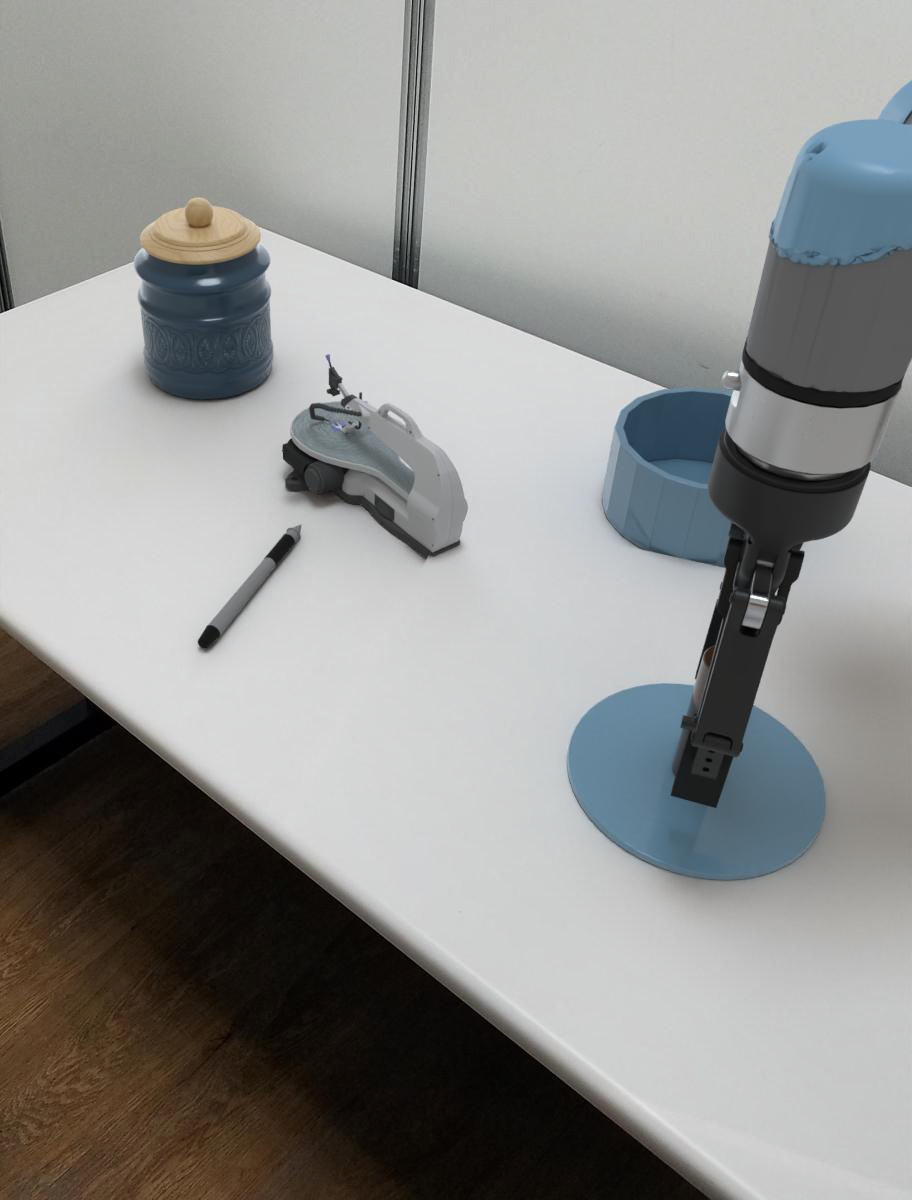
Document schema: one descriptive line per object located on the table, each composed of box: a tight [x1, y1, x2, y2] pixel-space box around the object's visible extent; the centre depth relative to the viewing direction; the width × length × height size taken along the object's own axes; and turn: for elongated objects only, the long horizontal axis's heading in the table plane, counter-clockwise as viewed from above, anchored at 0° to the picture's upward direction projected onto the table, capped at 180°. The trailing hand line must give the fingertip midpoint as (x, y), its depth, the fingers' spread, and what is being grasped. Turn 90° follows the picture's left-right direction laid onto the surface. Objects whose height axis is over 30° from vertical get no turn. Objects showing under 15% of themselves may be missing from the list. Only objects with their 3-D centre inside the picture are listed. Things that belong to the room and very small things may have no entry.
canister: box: [133, 197, 274, 400], centre depth 114 cm, size 13×13×18 cm
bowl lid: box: [566, 645, 827, 881], centre depth 75 cm, size 16×16×11 cm
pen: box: [197, 523, 303, 650], centre depth 94 cm, size 1×16×1 cm, turn 154°
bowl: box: [601, 386, 733, 567], centre depth 99 cm, size 15×16×8 cm
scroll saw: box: [281, 353, 469, 560], centre depth 100 cm, size 20×11×12 cm
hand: (705, 736), depth 76 cm, fingers open, 10 cm apart
